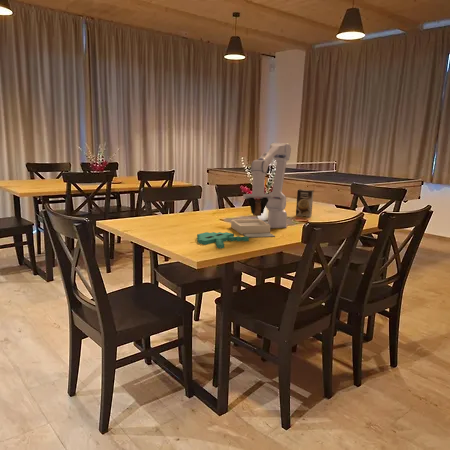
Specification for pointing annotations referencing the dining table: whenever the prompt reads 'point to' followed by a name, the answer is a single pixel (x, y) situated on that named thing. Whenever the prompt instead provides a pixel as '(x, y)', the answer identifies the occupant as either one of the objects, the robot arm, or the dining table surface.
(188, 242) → the dining table surface
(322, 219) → the dining table surface
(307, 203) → the coffee box
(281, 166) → the robot arm
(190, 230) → the dining table surface
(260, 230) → the open box
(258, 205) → the walnut cylinder
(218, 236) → the alien figure
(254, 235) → the slate mat
